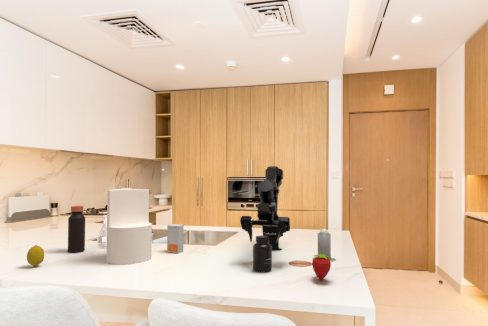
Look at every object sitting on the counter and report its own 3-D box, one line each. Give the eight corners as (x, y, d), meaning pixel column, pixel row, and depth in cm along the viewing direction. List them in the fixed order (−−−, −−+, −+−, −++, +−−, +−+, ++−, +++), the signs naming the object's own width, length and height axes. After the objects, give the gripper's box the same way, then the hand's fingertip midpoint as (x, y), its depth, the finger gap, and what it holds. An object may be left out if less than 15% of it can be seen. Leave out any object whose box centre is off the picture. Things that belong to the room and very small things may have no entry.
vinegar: (87, 249, 153) (88, 205, 154) (79, 253, 146) (79, 207, 147) (73, 249, 154) (74, 205, 154) (64, 253, 147) (65, 207, 147)
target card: (278, 261, 133) (278, 259, 133) (327, 257, 140) (327, 255, 140) (292, 269, 121) (292, 267, 121) (345, 264, 128) (345, 263, 128)
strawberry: (330, 277, 112) (329, 247, 112) (331, 285, 104) (331, 252, 104) (311, 276, 113) (311, 246, 113) (312, 284, 105) (312, 251, 106)
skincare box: (166, 252, 148) (166, 225, 148) (172, 250, 152) (172, 223, 152) (178, 253, 146) (178, 225, 146) (183, 251, 150) (183, 224, 150)
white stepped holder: (98, 259, 136) (99, 189, 137) (137, 252, 149) (138, 188, 150) (119, 267, 124) (120, 191, 125) (159, 258, 137) (160, 189, 138)
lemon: (25, 269, 121) (26, 247, 121) (27, 265, 126) (27, 244, 126) (43, 267, 124) (44, 245, 124) (44, 264, 129) (45, 243, 129)
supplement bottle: (270, 273, 116) (270, 238, 117) (251, 272, 118) (251, 237, 118) (273, 268, 123) (272, 235, 124) (254, 267, 125) (254, 234, 125)
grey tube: (315, 258, 135) (315, 228, 136) (326, 257, 137) (326, 227, 137) (321, 261, 130) (321, 230, 131) (333, 260, 132) (332, 229, 132)
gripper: (241, 194, 131) (235, 227, 119) (289, 195, 127) (287, 229, 116) (244, 213, 138) (239, 245, 127) (290, 214, 135) (289, 247, 123)
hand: (263, 241), depth 123 cm, fingers open, 9 cm apart
